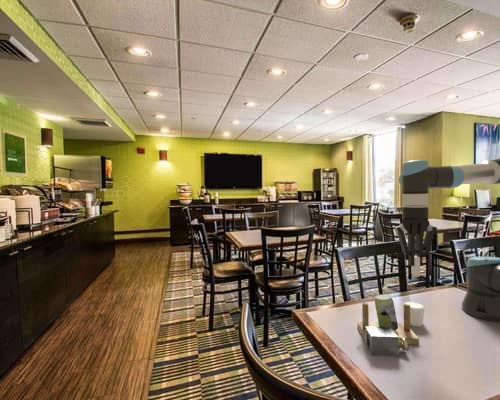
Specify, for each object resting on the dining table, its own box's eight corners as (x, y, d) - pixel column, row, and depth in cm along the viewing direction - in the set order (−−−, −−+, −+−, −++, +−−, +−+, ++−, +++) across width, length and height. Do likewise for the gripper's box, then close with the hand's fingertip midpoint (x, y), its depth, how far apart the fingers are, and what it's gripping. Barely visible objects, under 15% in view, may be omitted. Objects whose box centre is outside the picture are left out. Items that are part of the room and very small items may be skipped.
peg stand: (405, 328, 98) (404, 299, 97) (418, 344, 88) (418, 311, 87) (357, 326, 100) (357, 298, 99) (365, 341, 90) (365, 310, 89)
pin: (402, 346, 86) (402, 335, 86) (408, 353, 82) (407, 342, 82) (369, 345, 87) (369, 334, 87) (372, 351, 83) (372, 340, 83)
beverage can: (400, 334, 90) (400, 300, 89) (377, 333, 91) (377, 299, 91) (394, 325, 96) (394, 293, 96) (372, 324, 97) (372, 292, 97)
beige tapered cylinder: (423, 320, 103) (423, 302, 103) (426, 328, 97) (426, 309, 97) (403, 317, 106) (402, 299, 106) (405, 325, 100) (404, 306, 100)
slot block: (390, 345, 87) (390, 327, 87) (398, 356, 81) (398, 337, 81) (365, 344, 88) (365, 326, 88) (371, 355, 82) (371, 336, 82)
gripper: (429, 205, 92) (430, 271, 93) (390, 206, 94) (391, 271, 94) (442, 206, 84) (442, 279, 85) (399, 207, 86) (400, 278, 87)
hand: (415, 275), depth 90 cm, fingers closed
